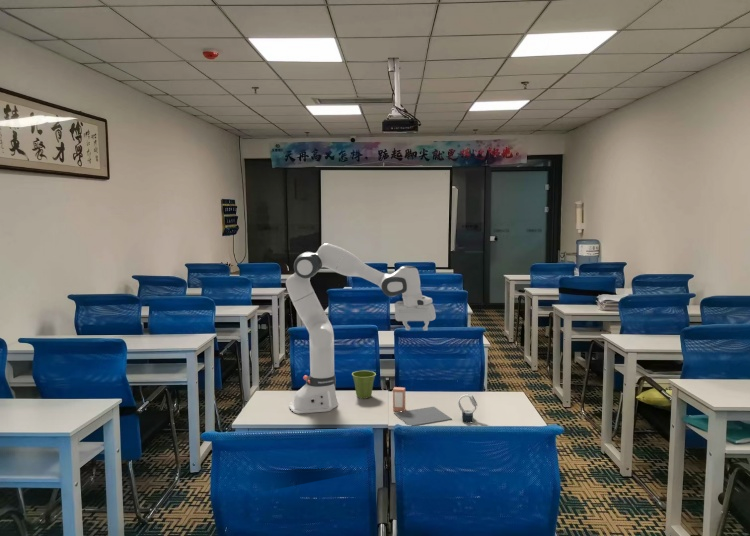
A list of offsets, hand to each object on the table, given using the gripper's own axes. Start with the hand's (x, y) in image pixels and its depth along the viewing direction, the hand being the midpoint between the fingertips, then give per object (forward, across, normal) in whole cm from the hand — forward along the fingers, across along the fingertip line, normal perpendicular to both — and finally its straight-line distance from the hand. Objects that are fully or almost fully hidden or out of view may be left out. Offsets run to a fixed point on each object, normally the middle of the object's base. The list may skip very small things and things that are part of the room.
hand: (416, 330), depth 230 cm
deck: (+34, -6, -13) cm, 37 cm away
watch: (+38, +24, -6) cm, 45 cm away
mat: (+35, +6, -14) cm, 38 cm away
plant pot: (+32, -31, -7) cm, 45 cm away
